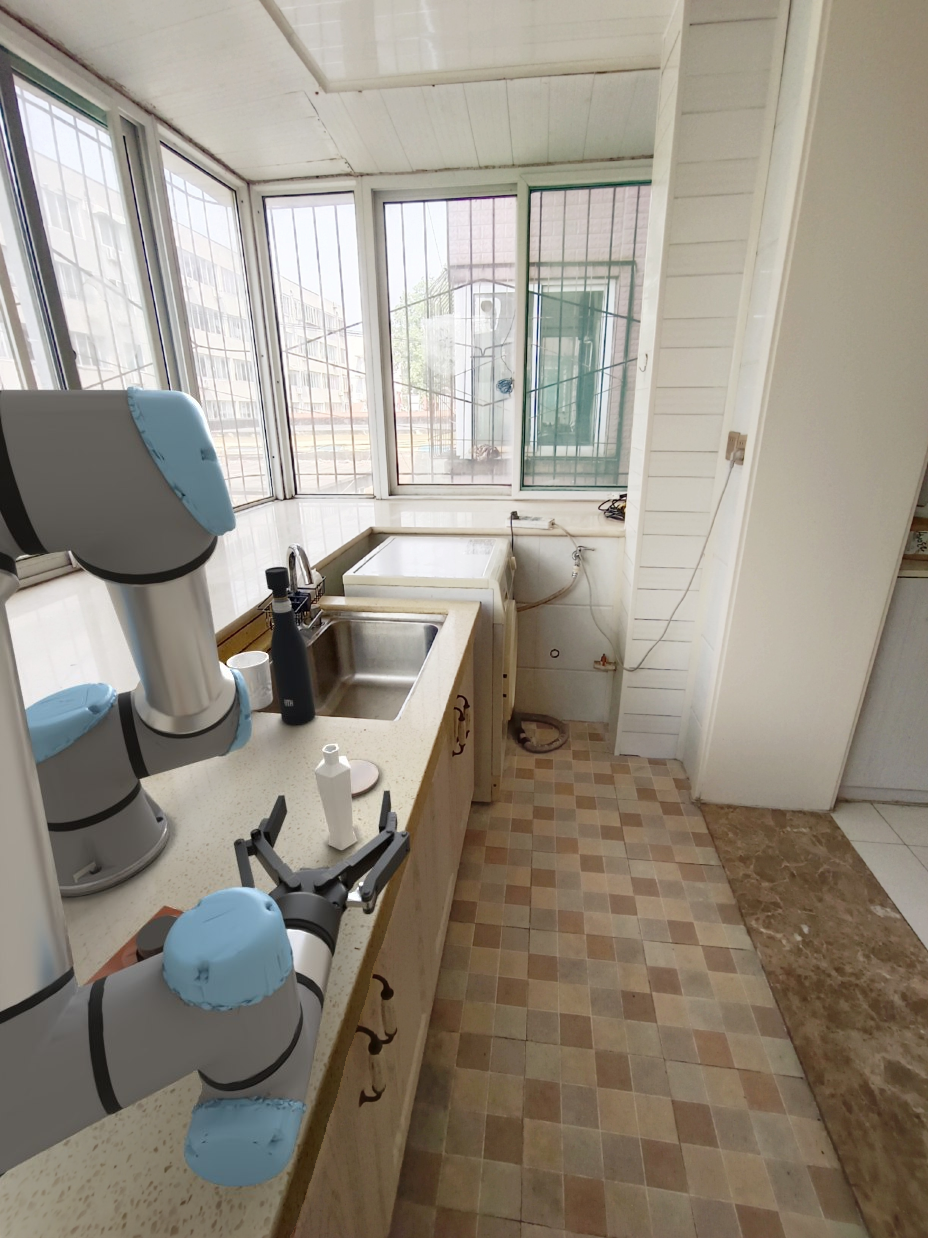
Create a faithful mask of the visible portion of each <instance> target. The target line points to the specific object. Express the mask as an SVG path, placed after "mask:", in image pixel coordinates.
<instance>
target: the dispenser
mask: <svg viewBox="0 0 928 1238" xmlns="http://www.w3.org/2000/svg"><path fill="white" fill-rule="evenodd" d="M184 912H185V910H182V909H178V908H175V907H172V906H170V905H166V904H164V905H163V906H162V907H161V908H160V909H159V910H157V912H156V913H155V914H154V915H153V916H151V918H149V920H148V921H147V922H146V923H145V924H144V925H143V926H145V925H146V924H147V923H148V922H150V921H151V920H153V919H155V918H157V917H160V916H164V915H172V916H175V917H176V918H179V917H180V916H181V915H182V914H183V913H184ZM143 926H141V928H140V929H139V930H138V931H136V933H134V934H133V936H131V937H130V939H128V940H127V941H126V942H125V943H124V944H123V945H122V946H121V947H120V948H119V949H118V950H117V951H116V952H115V953H114V954H113V955H112V956H111V957H110V958H109V959H108V960H107V961H106V962H105V963H104V964H103V965H102V966H101V967H100V968H99V969H98V970H97V971H96V972H95V973H94V974H93V975H92V976H91V977H90V978H89V979H87V981H86V982H85V983H84V984H83V985H82V986H85V985H87V984H90V983H92V982H95V981H96V980H98V979H101V978H103V977H105V976H107V975H111V974H113V973H115V972H118V971H120V970H122V969H125V968H127V967H129V966H132V965H134V964H136V963H139V962H141V961H142V960H141V958H140V955H139V952H138V949H137V946H136V937H137V934H138V933H139V931H140V930H141V929H142V928H143Z"/></svg>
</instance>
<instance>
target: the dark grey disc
mask: <svg viewBox="0 0 928 1238" xmlns="http://www.w3.org/2000/svg"><path fill="white" fill-rule="evenodd" d="M177 919H178V918H176V917H175V916H172V915H164V916H160V917H157V918H155V919H153V920H151V921H150V922H148V921H147V922H148V923H147V922H146V923H147V924H146V923H145V924H146V925H145V924H144V925H145V926H144V925H143V926H142V927H143V928H142V927H141V928H142V929H141V928H140V929H141V930H140V929H139V930H140V931H139V930H138V931H139V933H138V934H137V937H136V946H137V949H138V952H139V955H140V958H141V960H142V961H143V960H146V959H148V958H150V957H153V956H155V955H157V954H160V953H162V952H163V948H164V943H165V940H166V938H167V935H168V933H169V931H170V929H171V927H172V926H173V924H174V923H175V922H176V920H177Z"/></svg>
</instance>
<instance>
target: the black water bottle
mask: <svg viewBox="0 0 928 1238" xmlns="http://www.w3.org/2000/svg"><path fill="white" fill-rule="evenodd" d="M264 573H265V580H266V586H267V589H268V590H270V591H271V593H272V599H273V600H272V601H271V602H272V603H271V606H272V611H271V615H272V621H273V622H272V623H273V629H272V634H271V639H270V640H271V642H270V656H271V663H272V668H273V674H274V675H273V676H274V680H275V686H276V693H277V699H278V704H279V705H278V706H279V710H280V716H281V717H280V718H281V721H282V722H283V723H284V724H286V725H288V726H299V725H304V724H307V723H309V722H310V721H311V722H312V720H313V719H314V718H315V717H316V707H315V700H314V693H313V686H312V680H311V672H310V664H309V659H308V658H309V657H308V651H307V645H306V642H305V638H304V637H303V634H302V632H301V630H300V628H299V627H298V624H297V623H296V620H295V618H296V617H295V612H294V611H295V610H294V608H292V601H291V600H290V598H288V597H289V594H288V590H287V589H288V588H290V587H291V582H290V576H289V569H288V567H285V566H274V567H269V568H266V569H265V570H264Z"/></svg>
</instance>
